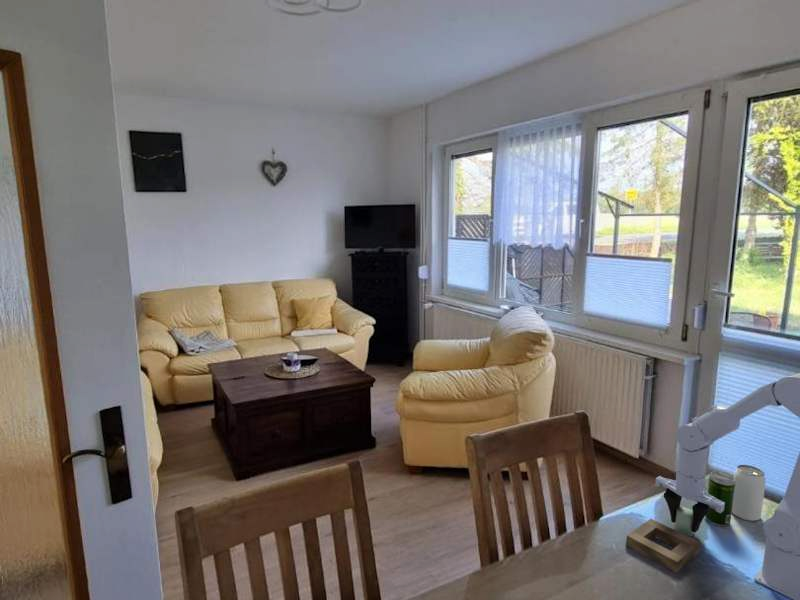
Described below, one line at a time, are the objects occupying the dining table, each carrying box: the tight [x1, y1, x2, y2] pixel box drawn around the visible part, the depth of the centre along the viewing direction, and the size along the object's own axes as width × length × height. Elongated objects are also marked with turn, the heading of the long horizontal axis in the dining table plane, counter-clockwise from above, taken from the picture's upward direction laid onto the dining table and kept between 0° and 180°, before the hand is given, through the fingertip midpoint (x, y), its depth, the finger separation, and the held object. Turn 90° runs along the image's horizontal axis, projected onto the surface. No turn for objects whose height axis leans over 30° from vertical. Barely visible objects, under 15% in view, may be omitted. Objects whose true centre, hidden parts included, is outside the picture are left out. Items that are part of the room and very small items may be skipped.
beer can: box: [704, 470, 735, 528], centre depth 122 cm, size 5×5×12 cm
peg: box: [674, 506, 695, 537], centre depth 118 cm, size 4×4×5 cm
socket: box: [625, 518, 701, 573], centre depth 111 cm, size 11×11×2 cm
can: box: [732, 464, 767, 522], centre depth 125 cm, size 6×6×12 cm
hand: (684, 525), depth 118 cm, fingers closed on peg, 4 cm apart
